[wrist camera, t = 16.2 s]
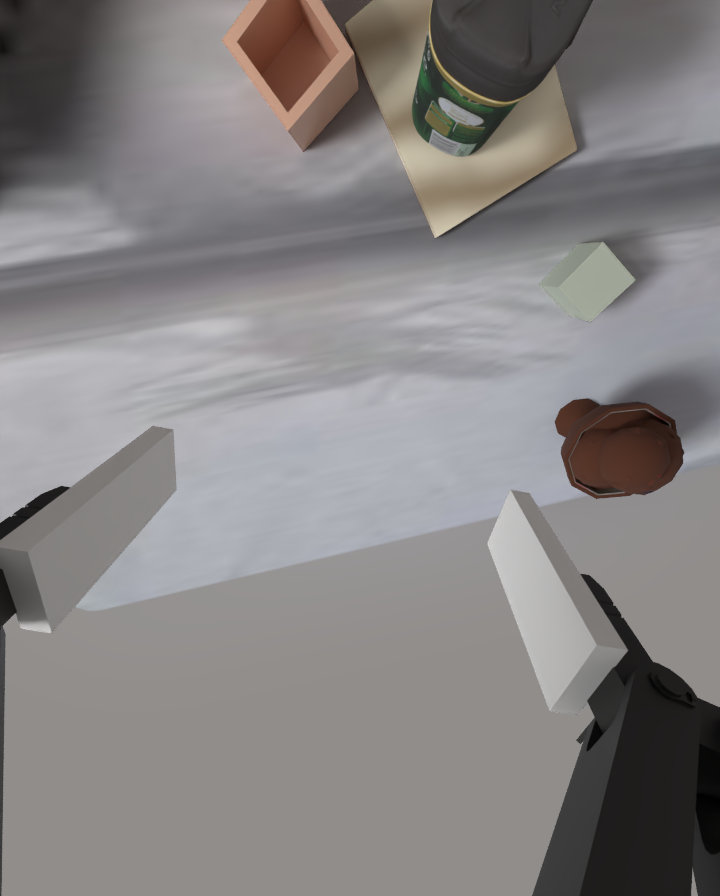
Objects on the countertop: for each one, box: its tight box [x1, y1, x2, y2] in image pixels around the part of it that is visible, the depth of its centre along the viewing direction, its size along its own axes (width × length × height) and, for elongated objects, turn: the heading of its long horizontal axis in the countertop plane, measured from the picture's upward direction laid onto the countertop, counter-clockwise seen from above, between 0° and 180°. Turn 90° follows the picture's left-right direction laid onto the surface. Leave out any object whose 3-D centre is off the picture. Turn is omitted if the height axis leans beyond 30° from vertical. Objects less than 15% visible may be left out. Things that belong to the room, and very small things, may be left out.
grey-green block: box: [539, 242, 635, 322], centre depth 38 cm, size 5×5×5 cm
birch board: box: [345, 0, 577, 238], centre depth 34 cm, size 18×14×1 cm
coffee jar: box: [412, 0, 593, 157], centre depth 25 cm, size 10×8×19 cm
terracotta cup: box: [222, 0, 359, 152], centre depth 31 cm, size 7×7×7 cm
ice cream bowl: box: [555, 399, 684, 499], centre depth 41 cm, size 11×11×15 cm
